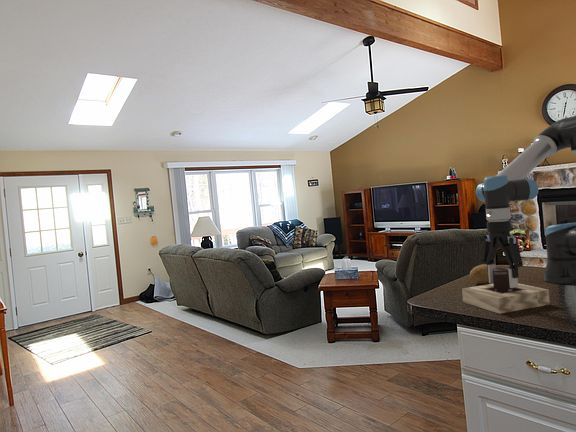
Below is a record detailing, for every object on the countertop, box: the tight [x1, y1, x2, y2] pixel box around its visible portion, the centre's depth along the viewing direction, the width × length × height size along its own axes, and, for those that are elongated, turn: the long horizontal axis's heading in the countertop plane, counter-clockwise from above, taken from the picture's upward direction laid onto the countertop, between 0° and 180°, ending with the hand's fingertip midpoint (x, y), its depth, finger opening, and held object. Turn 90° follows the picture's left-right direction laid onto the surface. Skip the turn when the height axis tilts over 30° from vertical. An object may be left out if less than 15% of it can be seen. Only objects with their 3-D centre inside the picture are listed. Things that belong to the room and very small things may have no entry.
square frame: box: [461, 282, 551, 314], centre depth 148 cm, size 20×18×5 cm
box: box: [492, 267, 513, 293], centre depth 148 cm, size 6×4×12 cm
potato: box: [469, 263, 490, 285], centre depth 181 cm, size 10×14×8 cm
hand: (503, 284), depth 148 cm, fingers open, 9 cm apart
